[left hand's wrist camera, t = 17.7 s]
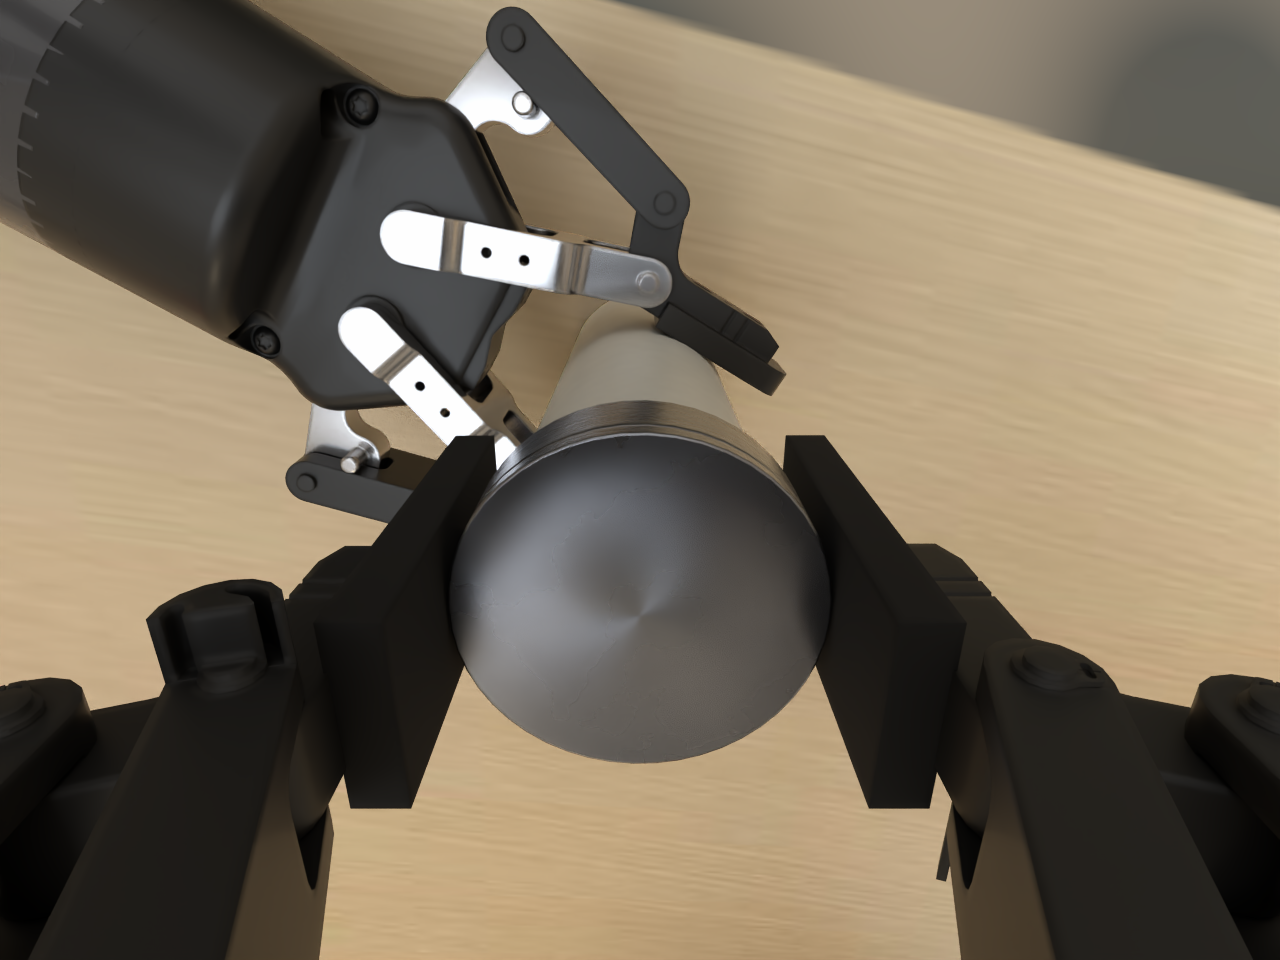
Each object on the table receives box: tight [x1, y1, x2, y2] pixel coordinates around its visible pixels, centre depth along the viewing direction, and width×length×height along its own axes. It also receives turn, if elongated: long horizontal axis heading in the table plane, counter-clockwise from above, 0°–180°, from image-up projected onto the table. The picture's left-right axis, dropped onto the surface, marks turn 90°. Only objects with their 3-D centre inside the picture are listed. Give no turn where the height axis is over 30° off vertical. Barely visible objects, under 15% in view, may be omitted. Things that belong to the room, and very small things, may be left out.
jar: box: [537, 301, 743, 431], centre depth 19 cm, size 5×5×16 cm
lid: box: [448, 400, 832, 764], centre depth 11 cm, size 6×6×2 cm
